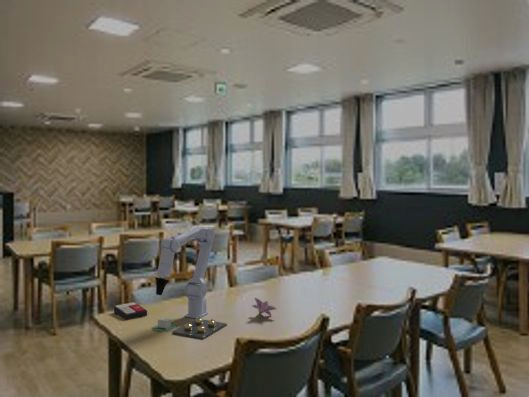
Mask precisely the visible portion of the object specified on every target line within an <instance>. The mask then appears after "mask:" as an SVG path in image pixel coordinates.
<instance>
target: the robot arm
mask: <svg viewBox="0 0 529 397" xmlns="http://www.w3.org/2000/svg"><path fill="white" fill-rule="evenodd" d="M215 238H216V233H215V230H214V228H213V227H204V226H195V227H193V228H192V229H191V230H188V231H187V232H181V231H179V232H178V233H177V234H175V235H171V237H165V238H164V239H163V240H162V241H161V242H160V249H161V250H160V259H159V263H158V267H157V272H153V274H154V275H156V276H159V277H155V283H156V284H155V285H156V286H155V287H156V288H155V295H157V296H162V295H163V292H164V290H165V288H166V286H167V284H168V283H169V282H170V281H169V280H168V279H166V278H170V277H171V271H172V267H173V262H174V259H175V254H176V252H177V251H178V250H179V248H181V247H182V246H185V245H186V244H187V243H188V241H190V240H191V239H194V240H195V241H196V242H197V244H198V245H199V246H200V249H199V254H198V257H197V260H196V264H195V268H194V272H193V276H192V277H191V278H189V279H188V280H187V283H186V285H185V287H184V295H185V296H186V299H187V314H185V315H184V317H185V318H186V317H187V318H192V319H196V318H199V317H200V318H202V317H204V316H206V315H208V314H209V312H207V298H206V295H207V290H208V289H207V287H208V284H207V282H206V281H205V276H206V272H207V267H208V264H209V259H210V255H211V252H212V249H213V248H212V247H213V245H214V240H215Z"/></svg>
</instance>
